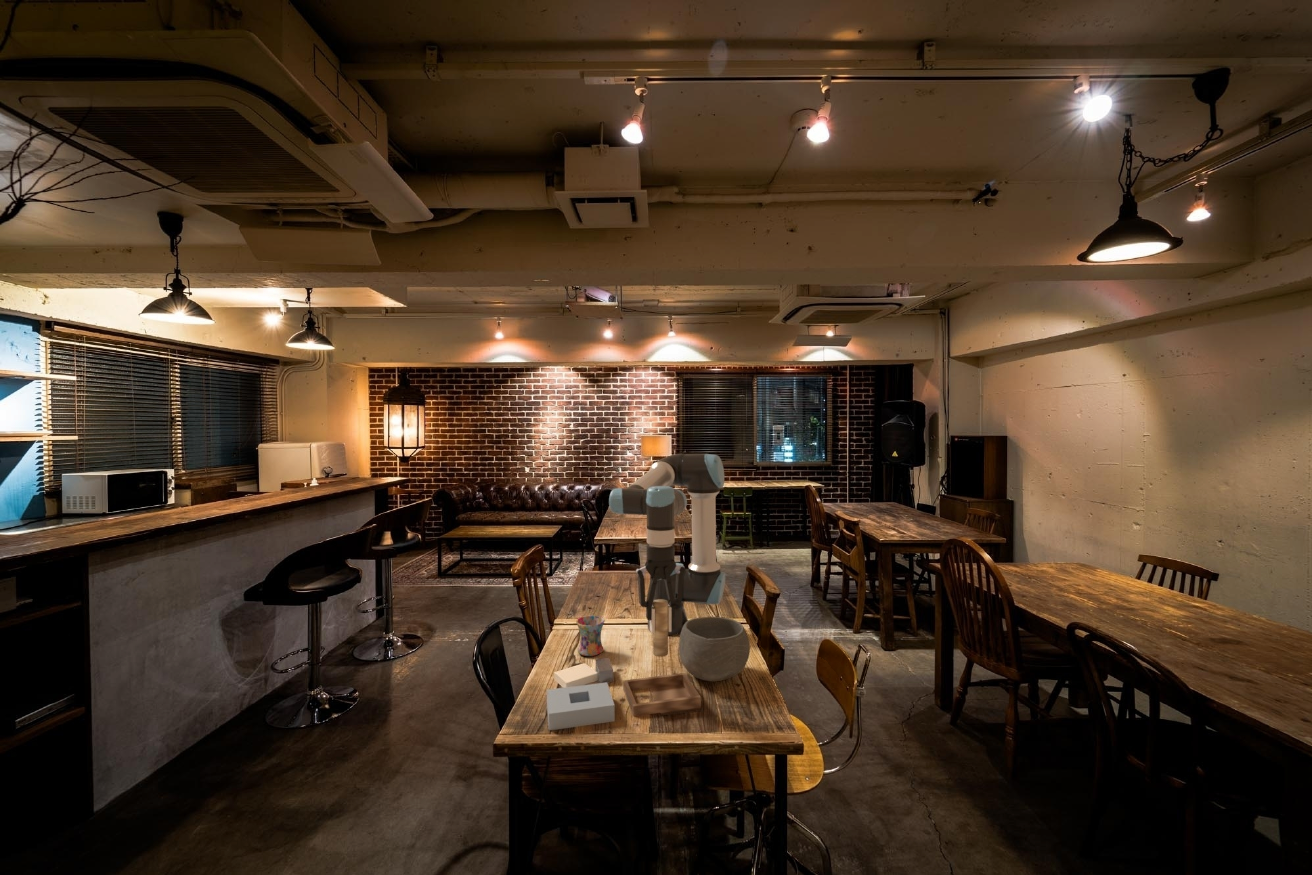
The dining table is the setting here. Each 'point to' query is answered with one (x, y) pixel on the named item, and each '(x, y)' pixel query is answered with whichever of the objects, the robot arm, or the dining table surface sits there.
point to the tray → (664, 695)
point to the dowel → (660, 628)
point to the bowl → (713, 648)
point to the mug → (590, 635)
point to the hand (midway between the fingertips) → (660, 630)
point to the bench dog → (604, 670)
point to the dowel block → (579, 706)
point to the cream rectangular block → (576, 676)
